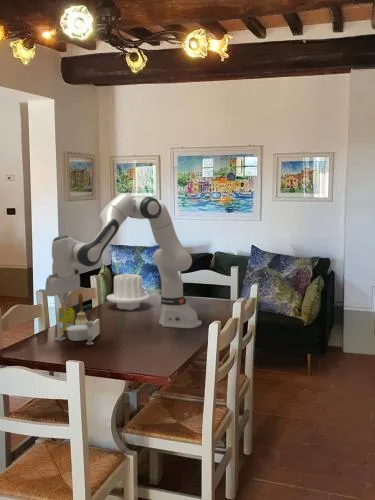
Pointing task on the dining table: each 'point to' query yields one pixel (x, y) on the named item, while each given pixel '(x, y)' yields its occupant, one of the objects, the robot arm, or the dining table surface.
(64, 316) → the crayon box
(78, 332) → the ramekin
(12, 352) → the dining table surface
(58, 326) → the post
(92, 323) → the gate
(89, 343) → the gate post
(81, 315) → the hand bell
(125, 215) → the robot arm
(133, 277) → the ribbed cylinder on disc
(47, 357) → the dining table surface
